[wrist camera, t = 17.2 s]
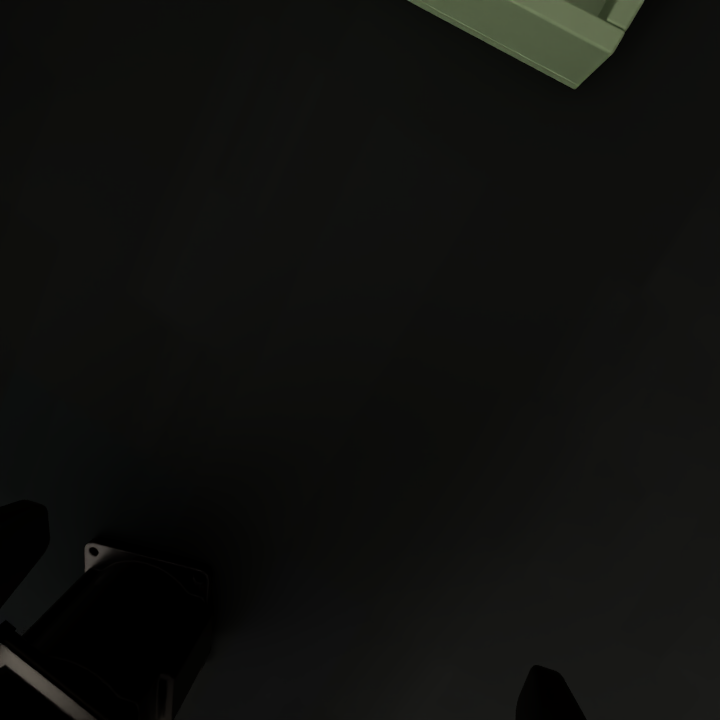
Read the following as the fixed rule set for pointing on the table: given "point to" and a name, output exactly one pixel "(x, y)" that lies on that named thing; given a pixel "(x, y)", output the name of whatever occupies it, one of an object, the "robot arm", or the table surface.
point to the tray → (544, 30)
